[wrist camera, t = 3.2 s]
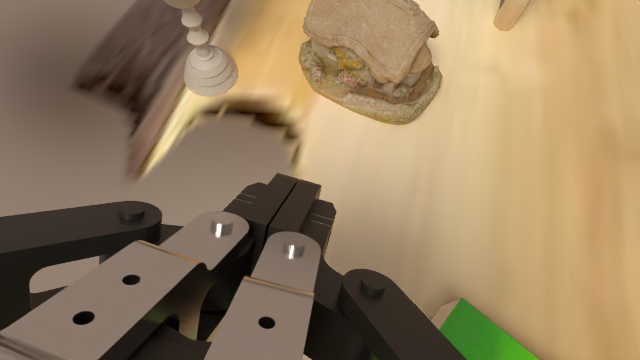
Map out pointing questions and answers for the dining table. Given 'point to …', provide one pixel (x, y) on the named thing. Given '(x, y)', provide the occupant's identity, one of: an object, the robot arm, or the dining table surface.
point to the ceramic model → (371, 57)
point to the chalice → (204, 56)
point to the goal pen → (509, 13)
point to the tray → (477, 334)
